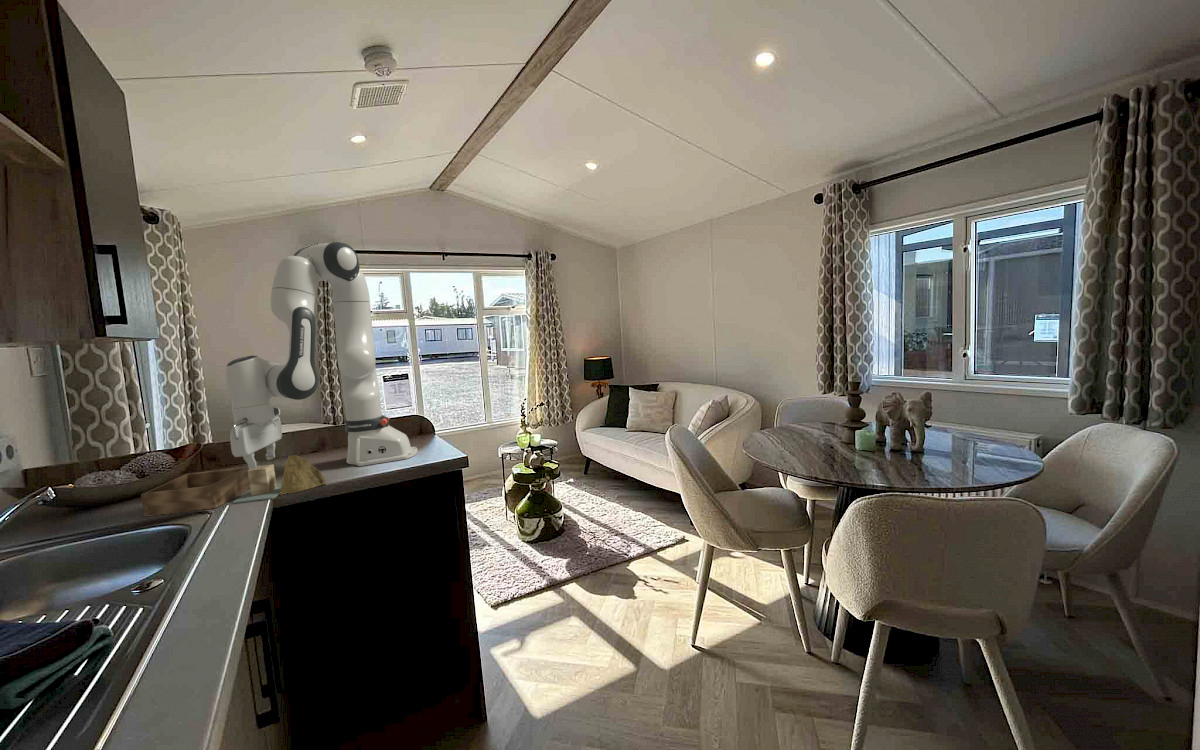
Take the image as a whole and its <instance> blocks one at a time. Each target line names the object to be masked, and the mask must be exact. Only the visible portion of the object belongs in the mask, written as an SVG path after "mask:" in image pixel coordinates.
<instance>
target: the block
mask: <svg viewBox="0 0 1200 750" xmlns="http://www.w3.org/2000/svg"><path fill="white" fill-rule="evenodd" d="M248 476H249V482H250V488H249V490H250V491H251V495H260V494H268V493H271V492H272V491H274V490H275V489H277V479H276V472H275V465H274V463H273V464H265V465H264V464H263V465H258V467H257V468H256V469H252V470H250V469H249V470H248Z"/></svg>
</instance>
